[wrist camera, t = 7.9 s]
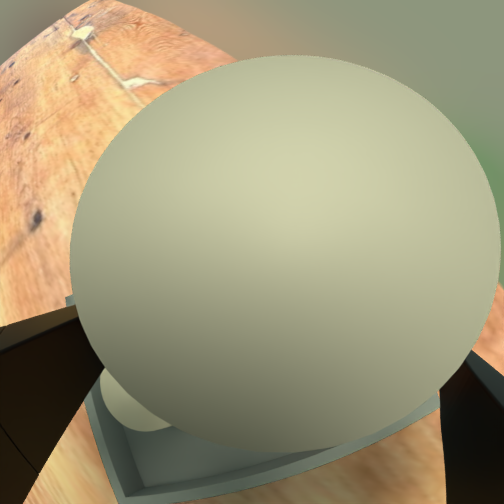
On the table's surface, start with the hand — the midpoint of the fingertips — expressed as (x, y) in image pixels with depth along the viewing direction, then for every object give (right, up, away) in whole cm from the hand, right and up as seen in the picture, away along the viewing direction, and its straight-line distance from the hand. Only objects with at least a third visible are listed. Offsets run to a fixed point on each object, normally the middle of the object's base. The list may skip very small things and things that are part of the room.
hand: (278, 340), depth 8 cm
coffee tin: (+2, -2, +8) cm, 8 cm away
